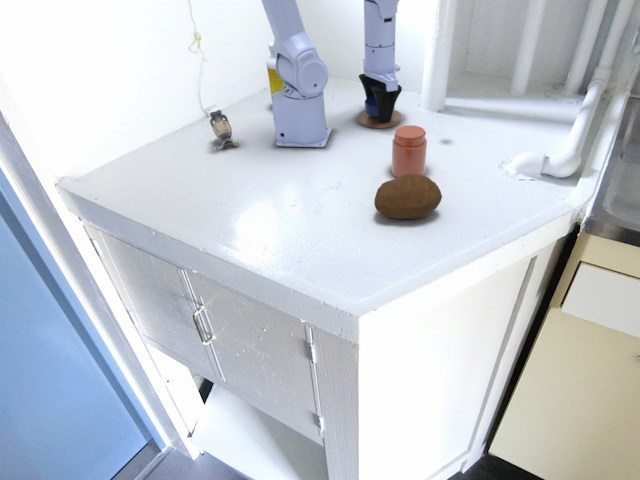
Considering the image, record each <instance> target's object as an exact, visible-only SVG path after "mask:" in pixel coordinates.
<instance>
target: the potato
mask: <svg viewBox="0 0 640 480" xmlns="http://www.w3.org/2000/svg"><path fill="white" fill-rule="evenodd" d="M441 191H442V190H441V189H440V188H439V186H438V185H437V183H436V182H435V181H434V180H432V179H431V178H430V177H428V176H426V175H419V174H404V175H401V176H399V177H395V178H393V179H391V180H387V181H385V182H383V183H382V184H380V186H379V187H378V189H377V190H376V193H375V197H374V203H373V204H374V207H375V209H376V212H378V213H380V214H381V216H384V217H387V218H390V219H396V220H397V219H398V220H404V219H405V220H407V219H412V220H417V219H423V218H425V217H427V216H429V215H431V214H432V213H433V212H434V211H435V210H436V209H437V208H438V206H440V204H441V202H442V198H443V195H442V192H441Z"/></svg>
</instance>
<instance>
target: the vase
mask: <svg viewBox="0 0 640 480" xmlns="http://www.w3.org/2000/svg"><path fill="white" fill-rule="evenodd" d="M209 116H210V119H209V123H210V126H211V128H212V131H213V133H214V135H215V137H216V138H217V139H219V140H220V141H222V144H221V145H216V146H215V147H213V148H212V149H213V151H214V152H216V150H223V149H224V147H226V146H228V145H233V146H236V147H238V146H239V145H240V144H241V142H240V141H239V140H238V139H235V140H234V139H233V138H232V135H233V130H232V126H231V124H230V122H229V119H228V117H227V115H226V114H223V112H222V109H218V110H216V111H210V112H209ZM213 146H214V145H213Z"/></svg>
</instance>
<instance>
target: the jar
mask: <svg viewBox="0 0 640 480" xmlns="http://www.w3.org/2000/svg"><path fill="white" fill-rule="evenodd" d="M394 132H395V133H394V136H393V139H392V143H391V144H392V147H391V151H392V152H391V174H392V175H393V177H395V178H397V177H399V176H401V175H404V174H419V175H423V176H425V173H426V162H427V161H426V159H427V147H428V145H427V144H428V140H427V138H426V134H427V131H426V130H425V129H424V128H423V127H421V126H419V125H414V124H413V125H410V124H409V125H408V124H407V125H402V126H399V127H397V128H396V129H395V131H394Z"/></svg>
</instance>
